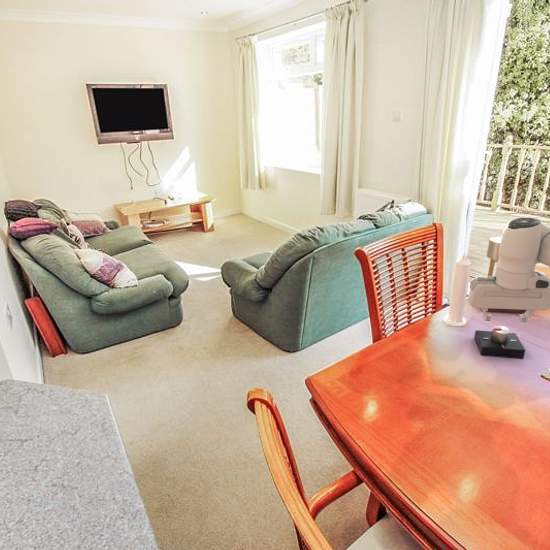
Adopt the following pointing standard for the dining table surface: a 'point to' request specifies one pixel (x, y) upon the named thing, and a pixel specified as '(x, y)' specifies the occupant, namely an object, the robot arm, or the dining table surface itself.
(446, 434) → the dining table surface
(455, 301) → the candle
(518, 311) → the lamp base
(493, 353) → the dimmer panel
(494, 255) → the desk lamp
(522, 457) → the dining table surface
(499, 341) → the dimmer knob
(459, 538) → the dining table surface
